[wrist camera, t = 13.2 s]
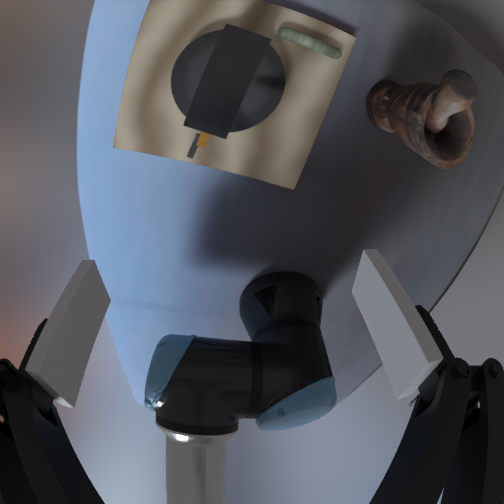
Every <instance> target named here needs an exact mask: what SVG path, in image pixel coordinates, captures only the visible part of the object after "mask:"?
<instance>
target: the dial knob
mask: <svg viewBox="0 0 504 504" xmlns="http://www.w3.org/2000/svg"><path fill="white" fill-rule="evenodd" d="M271 40H272V39H270V38H267V37H265V36H262V35H260V34H257V33H254V32H251V31H248V30H246V29H243V28H240V27H236V26H233V25H230V24H227V23H226V25H225V27H224V29H222V30H216V31H212V32H209V33H206V34H204V35H202V36H200V37H198V38H196V39H195V40H193V41H192V42H191V43H190V44H189V45H187V46H186V47H185V48H184V50H183V51H182V52H181V53H180V55H179V56H178V58H177V60H176V62H175V64H174V67H173V70H172V74H171V91H172V95H173V98H174V101H175V103H176V105H177V106H178V108H179V110H180V111H181V112H182V113H183V115H184V116H185V117H186V118H185V121H184V124H183V126H186V127H189V128H192V129H196V130H199V131H202V132H201V134H200V137H199V140H198V142H197V146H200V147H203V148H205V147H206V144H207V142H208V139H209V136H210V134H211V135H214V136H217V137H220V138H223V139H226V138H227V136H228V133H230V132H238V131H243V130H246V129H249V128H251V127H253V126H256V125H257V124H259V123H261V122H262V121H264V120H265V119H266V118H267V117H269V116H270V114H271V113H272V112H273V111H274V110H275V109H276V107H277V106H278V104H279V102H280V101H281V98H282V96H283V93H284V89H285V70H284V66H283V63H282V61H281V59H280V57H279V55H278V53H277V52H276V51H275V49H274V48H273V47H272V46H271V45H270V42H271Z"/></svg>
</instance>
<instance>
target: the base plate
mask: <svg viewBox="0 0 504 504" xmlns="http://www.w3.org/2000/svg"><path fill="white" fill-rule="evenodd" d="M226 23H227V24H230V25H233V26H236V27H240V28H243V29H246V30H248V31H251V32H254V33H257V34H260V35H262V36H265V37H267V38H270V39H272V40H271V42H270V45H271V46H272V47H273V48H274V49H275V51H276V52H277V53H278V55H279V57H280V59H281V61H282V63H283V66H284V70H285V89H284V93H283V96H282V98H281V101H280V102H279V104H278V106H277V107H276V109H275V110H274V111H273V112H272V113H271V114H270V116H269V117H267V118H266V119H265V120H264V121H262V122H261V123H259V124H257V125H256V126H253V127H251V128H249V129H246V130H243V131H238V132H230V133H228V136H227V138H226V139H223V138H220V137H217V136H214V135H211V134H210V136H209V139H208V142H207V144H206V147H205V148H203V147H200V146H197V142H198V140H199V137H200V134H201V132H202V131H199V130H196V129H192V128H189V127H186V126H183V124H184V121H185V118H186V117H185V116H184V115H183V113H182V112H181V111H180V110H179V108H178V106H177V105H176V103H175V101H174V98H173V95H172V91H171V74H172V70H173V67H174V64H175V62H176V60H177V58H178V56H179V55H180V53H181V52H182V51H183V50H184V48H185V47H186V46H187V45H189V44H190V43H191V42H192V41H193V40H195V39H196V38H198V37H200V36H202V35H204V34H206V33H209V32H212V31H216V30H222V29H224V27H225V25H226ZM355 40H356V38H355V37H353V36H351V35H350V34H348V33H346V32H343V31H341V30H339V29H337V28H335V27H333V26H331V25H329V24H326V23H324V22H322V21H319V20H317V19H315V18H312V17H310V16H307V15H305V14H302V13H299V12H296V11H294V10H291V9H288V8H285V7H282V6H279V5H276V4H272V3H269V2H266V1H262V0H150V2H149V4H148V7H147V9H146V12H145V15H144V18H143V20H142V23H141V26H140V29H139V32H138V35H137V38H136V41H135V45H134V48H133V52H132V55H131V59H130V62H129V66H128V70H127V74H126V78H125V83H124V87H123V92H122V96H121V101H120V107H119V112H118V118H117V124H116V130H115V137H114V145H113V148H118V149H124V150H130V151H136V152H141V153H147V154H152V155H157V156H162V157H167V158H172V159H176V160H181V161H186V162H190V163H194V164H199V165H203V166H207V167H211V168H216V169H220V170H224V171H228V172H231V173H235V174H239V175H243V176H247V177H250V178H254V179H258V180H261V181H265V182H268V183H272V184H275V185H278V186H282V187H285V188H288V189H292V190H294V189H295V187H296V184H297V182H298V180H299V177H300V175H301V172H302V170H303V168H304V165H305V163H306V161H307V158H308V156H309V153H310V151H311V149H312V146H313V144H314V141H315V139H316V137H317V134H318V132H319V129H320V127H321V125H322V122H323V120H324V117H325V115H326V112H327V110H328V107H329V105H330V103H331V100H332V98H333V95H334V93H335V90H336V88H337V85H338V83H339V80H340V78H341V75H342V73H343V70H344V68H345V65H346V63H347V60H348V58H349V55H350V53H351V50H352V48H353V45H354V43H355Z"/></svg>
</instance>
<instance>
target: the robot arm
mask: <svg viewBox="0 0 504 504" xmlns="http://www.w3.org/2000/svg"><path fill="white" fill-rule="evenodd" d="M352 294H353V296H354V298H355V300H356V303H357V305H358V307H359V309H360V311H361V314H362V316H363V318H364V320H365V322H366V325H367V327H368V329H369V332H370V334H371V336H372V339H373V341H374V343H375V346H376V348H377V350H378V353H379V355H380V358H381V360H382V363H383V365H384V367H385V370H386V373H387V375H388V378H389V380H390V383H391V386H392V389H393V391H394V394H395V397H396V399H400V398H403V397H406V396H409V395H411V394H412V393H413V392H414V391H415V390H416V389H417V388H418V390H419V392H420V394H419V395H418V396H417V397H416V398H415V399H414V400H413V401H412V402H411V403H410V405H409V406H412V405H413V404H414V403H415V406H414V409H413V411H412V414H411V417H410V420H409V423H408V425H407V428H406V430H405V433H404V436H403V438H402V440H401V443H400V445H399V447H398V449H397V452H396V454H395V456H394V458H393V460H392V462H391V464H390V467H389V469H388V471H387V473H386V474H385V477H384V478H383V480H382V482H381V484H380V486H379V488H378V489H377V491H376V493H375V495H374V496H373V498H372V500H371V502H370V503H369V504H437V502H438V500H439V497H440V495H441V493H442V490H443V488H444V490H443V495H442V499H441V504H504V370H503V367H502V365H501V364H500V363H499V362H498V361H497V360H496V359H494V358H489V359H487V360H486V361H485V362H484V363H483V364H482V365H481V366H469V365H468V364H467V363H466V361H464V360H462V359H461V358H455V357H454V355H453V354H452V352H451V350H450V348H449V346H448V345H447V343H446V341H445V339H444V338H443V336H442V334H441V333H440V331H439V330H438V327H437V325H436V324H435V323H434V320H433V319H432V317H431V316H430V314H429V312H428V311H426V310H425V309H424V308H423V307H422V306H421V305H417V306H414V305H413V303H412V301H411V300H410V298H409V296H408V295H407V293H406V292H405V290H404V289H403V287H402V286H401V284H400V282H399V281H398V279H397V278H396V276H395V275H394V273H393V272H392V270H391V269H390V267H389V266H388V265H387V263H386V262H385V260H384V259H383V257H382V256H381V255H380V253H379V252H378V250H377V249H367V250H363V253H362V257H361V261H360V264H359V268H358V271H357V275H356V278H355V282H354V285H353V288H352ZM110 301H111V300H110V297H109V295H108V293H107V290H106V288H105V286H104V283H103V281H102V278H101V276H100V273H99V271H98V268H97V266H96V263H95V260H82V262H81V263H80V265H79V266H78V268H77V270H76V271H75V273H74V274H73V276H72V278H71V279H70V281H69V283H68V284H67V286H66V288H65V289H64V291H63V293H62V295H61V296H60V298H59V300H58V302H57V304H56V306H55V307H54V309H53V311H52V313H51V315H50V317H49V318H48V319H44V321H43V322H42V323H41V324H40V325H39V326H38V328H37V330H36V332H35V334H34V337H33V338H32V340H31V344H30V345H29V346H28V349H27V351H26V353H25V355H24V358H23V360H22V362H21V365H20V367H19V369H18V370H17V369H16V368H15V367H14V365H13V364H12V363H11V362H10V361H9V360H8V359H4V358H3V359H0V415H1V416H2V417H3V418H4V421H3V423H2V422H1V421H0V504H105V503H104V502H103V500H102V499H101V497H100V496H99V494H98V492H97V491H96V489H95V488H94V486H93V484H92V483H91V481H90V479H89V478H88V476H87V474H86V472H85V471H84V469H83V467H82V465H81V463H80V461H79V459H78V457H77V455H76V453H75V451H74V449H73V447H72V445H71V443H70V441H69V439H68V436H67V434H66V432H65V429H64V427H63V425H62V422H61V420H60V417H59V415H58V412H57V409H56V407H55V406H54V404H53V400H54V399H55V400H56V401H57V402H58V403H60V404H61V405H64V406H67V407H71V408H74V407H75V404H76V400H77V396H78V393H79V389H80V386H81V382H82V379H83V376H84V372H85V369H86V366H87V363H88V360H89V357H90V354H91V351H92V348H93V345H94V343H95V340H96V337H97V334H98V331H99V329H100V326H101V324H102V321H103V319H104V316H105V314H106V311H107V309H108V306H109V304H110ZM239 306H240V316H241V319H242V322H243V324H244V326H245V328H246V330H247V332H248V334H249V336H250V338H251V342H250V341H237V340H226V339H215V338H206V337H197V336H196V335H191V336H187V335H174V334H170V335H166V336H164V337H163V338H162V339H161V340H160V341H159V343H158V344H157V346H156V349H155V351H154V354H153V357H152V360H151V363H150V367H149V371H148V375H147V380H146V386H145V401H144V402H145V406H146V408H148V409H149V410H151V411H156V425H157V426H158V427H159V428H160V429H161V430H162V431H163V432H164V433H165V435H166V491H167V504H224V489H225V465H226V443H227V440H228V439H229V438H230V437H232V436H233V435H234V434H236V433H237V431H238V421H239V419H243V418H252V419H256V424H257V425H258V427H259V428H260V429H262V430H269V431H276V430H284V429H289V428H293V427H297V426H301V425H304V424H307V423H309V422H312V421H314V420H317V419H319V418H320V417H322V416H324V415H325V414H327V413H328V412H330V411H331V410H332V409H333V407H334V406H335V404H336V401H337V396H336V389H335V378H334V377H333V374H332V370H331V367H330V363H329V359H328V355H327V352H326V348H325V344H324V341H323V337H322V333H321V330H320V324H321V315H322V297H321V294H320V291H319V288H318V286H317V284H316V283H315V282H314V281H313V280H312V279H310V278H309V277H307V276H305V275H302V274H299V273H293V272H279V273H273V274H269V275H266V276H263V277H261V278H259V279H257V280H255V281H254V282H252V283H251V284H250V285H249V286H248V287H247V288H246V289H245V290H244V291H243V293H242V295H241V297H240V302H239ZM479 401H480V408H478V402H479Z"/></svg>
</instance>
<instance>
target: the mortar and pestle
mask: <svg viewBox="0 0 504 504" xmlns="http://www.w3.org/2000/svg"><path fill="white" fill-rule="evenodd" d="M475 97H476V85H475V82H474V80H473V79H472V77H471V76H470V75H469V74H468V73H466V72H465V71H463V70H458V69H454V70H451V71H448V72H447V73H445V75H444V76H443V78H442V80H441V82H440V85H437V84H432V83H416V84H414V85H408V86H403V87H402V86H400V85H399V84H397V83H395V82H393V81H384V82H381V83H379V84H377V85H376V86H375V87H373V88H372V90H371V91H370V93H369V94H368V96H367V111H368V115H369V118H370V120H371V122H372V123H373V124H374V125H375V126H376V127H377V128H379V129H380V130H383V131H386V132H389V133H395V134H396V136H397V137H398V138H399V139H400V140H401V141H402V142H403V143H404V144H405V145H406V146H407V147H409V148H410V149H411V150H412V151H414V152H415V153H417V154H419V155H421V156H422V157H423V158H425V159H426V160H428V161H429V162H431V163H432V164H434V165H436V166H438V167H441V168H445V169H451V168H453V167H455V166H457V165H458V164H459V163H461V162H462V161H463V160H464V159H465V157H466V156H467V154H468V153H469V151H470V147H471V145H472V143H473V140H474V132H475V122H474V115H473V112H472V109H471V105H472V103H473V102H474V100H475Z"/></svg>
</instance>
